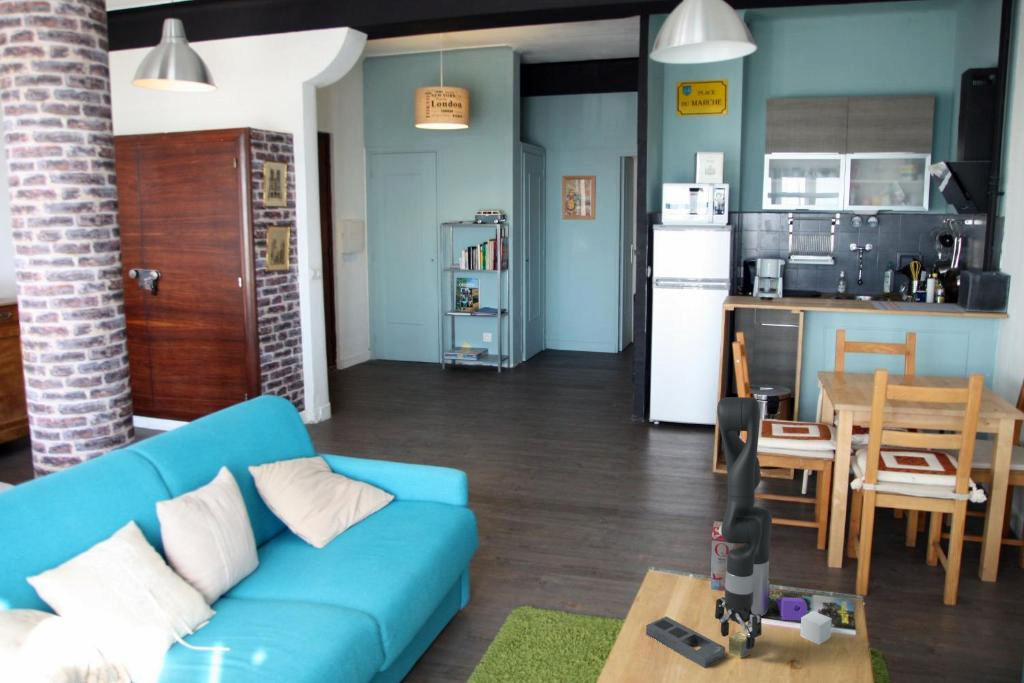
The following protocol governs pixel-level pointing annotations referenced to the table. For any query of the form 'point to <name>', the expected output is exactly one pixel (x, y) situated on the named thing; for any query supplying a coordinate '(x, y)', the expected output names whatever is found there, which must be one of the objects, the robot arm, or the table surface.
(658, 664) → the table surface
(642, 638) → the table surface
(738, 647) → the brushed gold cube
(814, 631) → the light grey cube
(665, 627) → the silver slotted board
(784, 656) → the table surface
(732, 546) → the juice carton
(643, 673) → the table surface
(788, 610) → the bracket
